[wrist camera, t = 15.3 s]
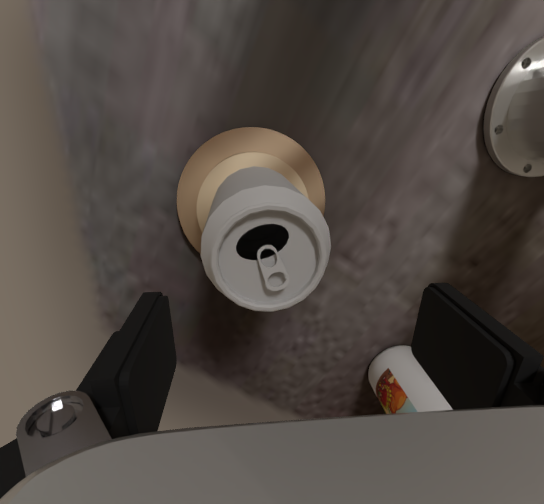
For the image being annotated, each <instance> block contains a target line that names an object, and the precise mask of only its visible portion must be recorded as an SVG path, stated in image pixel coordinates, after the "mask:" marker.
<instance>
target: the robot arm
mask: <svg viewBox="0 0 544 504" xmlns="http://www.w3.org/2000/svg"><path fill="white" fill-rule="evenodd" d="M483 130H484V139H485V144H486V147H487V150H488V153H489V155H490V156H491V158H492V160H493V161H494V162H495V163H496V164H497V165H498V166H499V167H500V168H501V169H503V170H504V171H506V172H508V173H510V174H514V175H518V176H525V177H540V176H544V37H541V38H539V39H537V40H535V41H534V42H532V43H531V44H529V45H528V46H527V47H525V48H524V49H523V50H521V51H520V52H519V53H518V54H517V55H516V56H515V57H514V58H513V59H512V60H511V61H510V63H509V64H508V65H507V67H506V68H505V69H504V71H503V72H502V73H501V75H500V76H499V78H498V80H497V82H496V84H495V85H494V87H493V89H492V92H491V94H490V97H489V100H488V102H487V107H486V111H485V115H484V128H483ZM411 351H412V354H413V356H414V357H415V359H416V360H417V362H418V363H419V364H420V366H421V367H422V368H423V370H424V371H425V372H426V374H427V375H428V376H429V378H430V379H431V381H432V382H433V383H434V385H435V386H436V387H437V389H438V390H439V391H440V393H441V394H442V395H443V397H444V398H445V400H446V401H447V402H448V404H449V405H450V406H451V408H452V409H453V410H442V411H425V412H409V413H393V414H378V415H363V416H348V417H333V418H318V419H304V420H290V421H277V422H262V423H248V424H234V425H221V426H209V427H194V428H184V429H175V430H166V431H157V430H158V427H159V423H160V420H161V416H162V413H163V409H164V406H165V402H166V399H167V396H168V392H169V389H170V386H171V382H172V379H173V375H174V372H175V368H176V351H175V344H174V337H173V329H172V322H171V315H170V308H169V300H168V297H167V296H163V295H162V293H161V292H145V293H143V294H142V296H141V297H140V299H139V300H138V302H137V304H136V305H135V307H134V308H133V310H132V312H131V313H130V315H129V317H128V318H127V320H126V321H125V323H124V325H123V326H122V328H121V329H120V331H116V332H114V333H113V334H112V336H111V337H110V339H109V340H108V342H107V344H106V345H105V347H104V348H103V350H102V351H101V353H100V354H99V356H98V357H97V359H96V361H95V362H94V364H93V365H92V367H91V368H90V370H89V371H88V373H87V374H86V376H85V378H84V379H83V381H82V382H81V384H80V385H79V387H78V388H77V390H76V391H66V392H61V393H57V394H55V395H52V396H50V397H48V398H46V399H44V400H42V401H41V402H39V403H38V404H36V405H35V406H34V407H32V408H31V409H30V410H29V411H28V412H27V413H26V414H25V415H24V416H23V418H22V419H21V420H20V422H19V424H18V426H17V432H16V436H17V439H15V440H13V441H12V442H10V443H8V444H6V445H5V446H3V447H1V448H0V504H544V368H542V367H541V366H540V364H541V362H542V359H543V357H544V356H543V355H541V354H540V353H539V352H537V351H536V350H535V349H533V348H532V347H531V346H530V345H528V344H527V343H526V342H524V341H523V340H522V339H520V338H519V337H518V336H516V335H515V334H514V333H513V332H511V331H510V330H509V329H507V328H506V327H505V326H503V325H502V324H501V323H499V322H498V321H497V320H496V319H494V318H493V317H492V316H490V315H489V314H488V313H486V312H485V311H484V310H482V309H481V308H480V307H479V306H477V305H476V304H475V303H473V302H472V301H471V300H469V299H468V298H467V297H465V296H464V295H463V294H462V293H460V292H459V291H458V290H456V289H455V288H454V287H452V286H451V285H450V284H448V283H431V284H429V286H428V287H426V288H425V289H424V291H423V295H422V300H421V304H420V309H419V313H418V318H417V322H416V327H415V331H414V336H413V340H412V345H411Z"/></svg>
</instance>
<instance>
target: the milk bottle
mask: <svg viewBox="0 0 544 504" xmlns="http://www.w3.org/2000/svg"><path fill="white" fill-rule="evenodd" d="M368 378H369V382H370V384H371V386H372V388H373V390H374V392H375V394H376V396H377V398H378V400H379V402H380V403H381V405H382V407H383V409H384V411H385V413H386V414H393V413H409V412H425V411H442V410H453V409H452V408H451V406H450V405H449V404H448V402H447V401H446V400H445V398H444V397H443V395H442V394H441V393H440V391H439V390H438V389H437V387H436V386H435V385H434V383H433V382H432V381H431V379H430V378H429V376H428V375H427V374H426V372H425V371H424V370H423V368H422V367H421V366H420V364H419V363H418V362H417V360H416V359H415V357H414V356H413V354H412V351H411V347H410V346H406V345H398V346H393V347H390V348H388V349H386V350H384V351H382V352H381V353H379V354H378V355H377V356H376V357H375V358H374V359H373V361H372V362H371V364H370V366H369V370H368Z"/></svg>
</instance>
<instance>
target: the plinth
mask: <svg viewBox="0 0 544 504" xmlns="http://www.w3.org/2000/svg"><path fill="white" fill-rule="evenodd" d="M253 166H256V167H265V168H270V169H272V170H274V171H276V172H278V173H280V174H282V175H283V176H284V177H285V178H286V179H287V180H288V181H289V182H290V183H291V184H293V185H294V186H295V187H296V188H297V189H298V190H299V191H300V192H301V193H302V194H303V195H304V196H305V197H307V198H308V199H309V200H310V201H311V202H312V203H313V204H314V205H315V206H316V207H317V208H318V209H319V210H320V211H321V213H322V215H324V210H325V190H324V185H323V181H322V178H321V175H320V172H319V170H318V168H317V166H316V164H315V162H314V161H313V160H312V158H311V157H310V155H309V154H308V153H307V152H306V151H305V150H304V149H303V148H302V147H301V146H300V145H299V144H298V143H296V142H295V141H294V140H292V139H291V138H289V137H287V136H286V135H283V134H281V133H279V132H276V131H273V130H269V129H266V128H258V127H243V128H237V129H232V130H229V131H226V132H223V133H221V134H219V135H217V136H215V137H213V138H211V139H210V140H208V141H207V142H205V143H204V144H203V145H202V146H201V147H200V148H199V149H198V150H197V151H196V152H195V153H194V154H193V155H192V157H191V158H190V159H189V161H188V163H187V164H186V166H185V168H184V170H183V172H182V175H181V178H180V181H179V185H178V191H177V210H178V216H179V220H180V223H181V226H182V228H183V231H184V233H185V235H186V236H187V238H188V240H189V241H190V243H191V244H192V245H193V247H194V248H195V249H196V250H197V251H198V252H199V253H200V254H201V237H202V233H203V230H204V227H205V224H206V221H207V218H208V215H209V211H210V208H211V205H212V202H213V199H214V197H215V194H216V192H217V189H218V187H219V186H220V185H221V184H222V182H223V181H224V180H225V179H226V178H227V177H228V176H229V175H231V174H233V173H234V172H236V171H238V170H239V169H243V168H248V167H253Z"/></svg>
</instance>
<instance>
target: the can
mask: <svg viewBox="0 0 544 504" xmlns="http://www.w3.org/2000/svg"><path fill="white" fill-rule="evenodd" d="M330 249H331V242H330V234H329V227H328V225H327V223H326V221H325V219H324V217H323V215H322V213H321V211H320V210H319V209H318V208H317V207H316V206H315V205H314V204H313V203H312V202H311V201H310V200H309V199H308V198H307V197H305V196H304V195H303V194H302V193H301V192H300V191H299V190H298V189H297V188H296V187H295V186H294V185H293V184H291V183H290V182H289V181H288V180H287V179H286V178H285V177H284V176H283V175H282V174H280V173H278V172H276V171H274V170H272V169H270V168H265V167H256V166H253V167H248V168H243V169H239V170H238V171H236V172H234V173H233V174H231V175H229V176H228V177H227V178H226V179H225V180H224V181H223V182H222V184H221V185H220V186H219V187H218V189H217V192H216V194H215V197H214V199H213V202H212V205H211V208H210V211H209V215H208V218H207V221H206V224H205V227H204V230H203V233H202V237H201V259H202V262H203V265H204V268H205V272H206V275H207V276H208V277H209V279H210V280H211V282H212V283H213V284H214V286H215V287H216V288H217V290H219V291H220V292H221V293H223V294H224V295H225V296H226V297H227V298H229V299H230V300H232V301H233V302H234V303H236V304H237V305H239V306H242V307H245V308H247V309H250V310H253V311H268V312H273V311H277V310H281V309H286V308H289V307H291V306H293V305H295V304H297V303H298V302H300V301H302V300H304V299H305V298H306V297H307V296H308V295H309V294H310V293H311V292H312V291H313V290H314V289H315V288H316V287H317V285H318V283H319V282H320V280H321V278H322V276H323V274H324V272H325V268H326V266H327V264H328V259H329V254H330Z"/></svg>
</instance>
